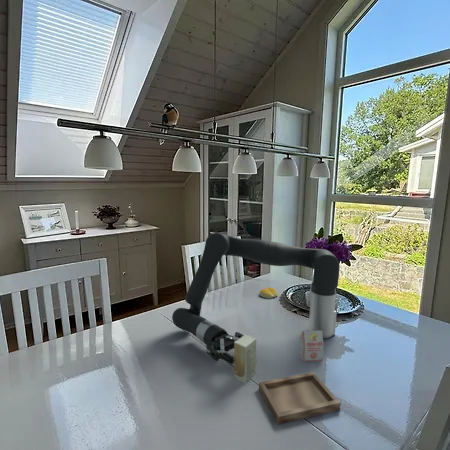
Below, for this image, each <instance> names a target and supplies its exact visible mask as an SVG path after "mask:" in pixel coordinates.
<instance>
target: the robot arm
mask: <svg viewBox="0 0 450 450" xmlns="http://www.w3.org/2000/svg"><path fill="white" fill-rule="evenodd" d="M202 252H203V253H202V256H201V260H200V263H199V264H198V267H197V270H196V272H195V274H194V276H193V279H192V281H191V283H190V284H189V287H188V290H187V291H186V294H185V297H184V301H185V302H186V303H187V304H188V305H190V306H189V308H185V307H178V308H176V309H175V310H174V311H173V313H172V316H171V319H172V323H173V325H175V327H176V328H178V329H181V330H183V331H185V332H188V333H190V334H192V335H193V336H194V337H196V338H198V340H199V341H200V342H201V343H202V344H204V345H206V354H207V355H208V356H209V357H210V358H211V359H213V360H214V361H215V362H219V360H222V361H223V360H224V361H225V362H226V363H227V364H230V365H233V364H234V356H232V355H231V354H230V353H228V352H230V351H231V350H234V342H236V341H237V340H238V339H239V338H241V337H242V336H244V335H245V334H243V333H241V332H238V331H236V332H234V335H230V334H229V333H228V332H227V330H226V329H225V328H223V327H221V326H219V325H218V324H216V323H214V322H212V321H210V320H208V319H206V318H205V317H203V316H201V312H202V311H201V310H202V304H203V302H204V299H205V297H206V294H207V292H208V290H209V287H210V284H211V281H212V277H213V275H214V273H215V270H216V268H217V267H218V266H217V265H218V264H219V262H221V259H222V258H223V257H224V256H230V257H239V258H242V259H246V260H249V261H251V262H254V263H258V264H262V265H267V266H274V267H287V266H300V267H305V268H309V269H313V278H312V279H313V280H312V282H311V285H310V300H309V301H310V302H309V317H308V331H322V335H323V339H329V338H331V337H332V336H334V335H336V325H337V311H336V310H335V308H336V295H337V288H338V286H339V280H340V279H339V278H340V277H339V276H340V267H341V266H340V262H339V259H338V258H337V257H336V255H335V254H334V253H332V252H331V251H330V250H327V249H324V248H322V249H321V248H306V247H300V246H295V245H290V244H286V243H281V242H277V241H271V240H265V239H248V238H247V239H245V238H240V237H236V236H232V235H231V236H230V235H228V234H224V233H221V232H213V233H211V234H209V235H208V236H207V238H206V239H205V244H204V248H203V251H202Z"/></svg>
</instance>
